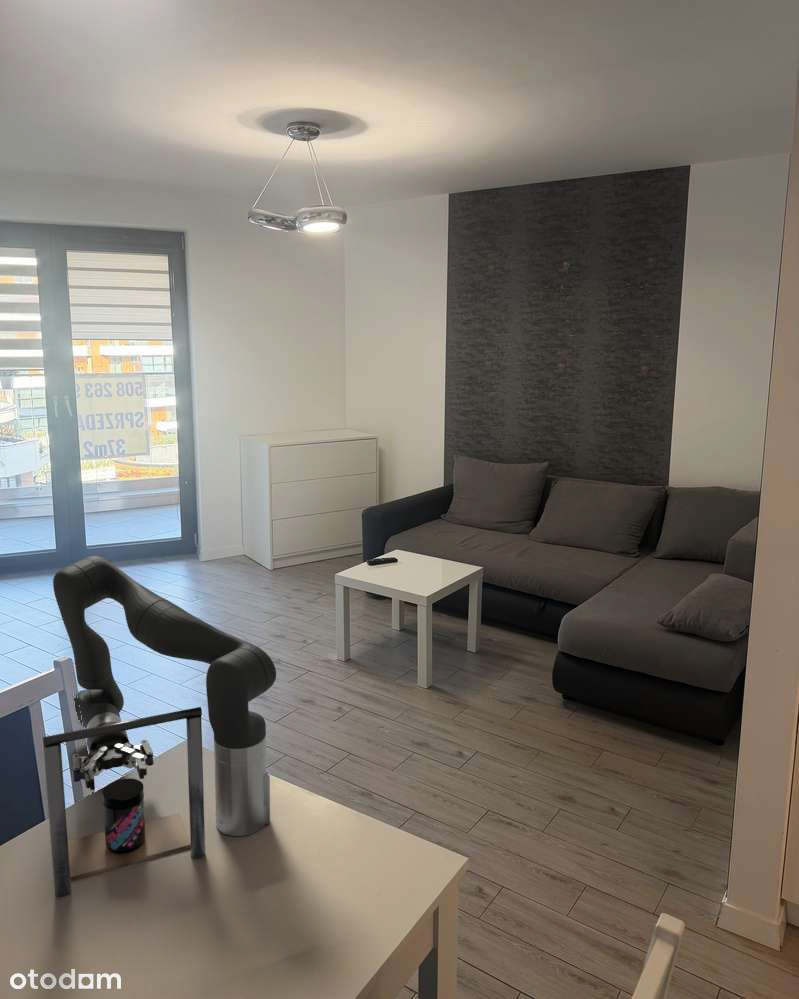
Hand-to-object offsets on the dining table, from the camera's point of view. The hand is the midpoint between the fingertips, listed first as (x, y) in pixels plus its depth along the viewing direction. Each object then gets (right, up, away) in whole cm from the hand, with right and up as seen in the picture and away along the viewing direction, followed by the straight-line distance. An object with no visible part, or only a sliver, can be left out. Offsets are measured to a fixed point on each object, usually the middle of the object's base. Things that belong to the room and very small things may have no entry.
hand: (117, 779), depth 137 cm
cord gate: (+7, -11, -12) cm, 18 cm away
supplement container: (+4, -9, -6) cm, 11 cm away
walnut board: (+4, -9, -6) cm, 12 cm away
